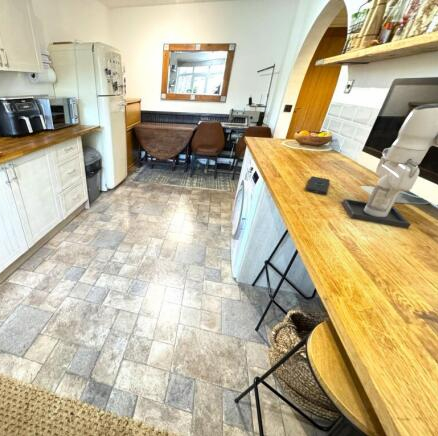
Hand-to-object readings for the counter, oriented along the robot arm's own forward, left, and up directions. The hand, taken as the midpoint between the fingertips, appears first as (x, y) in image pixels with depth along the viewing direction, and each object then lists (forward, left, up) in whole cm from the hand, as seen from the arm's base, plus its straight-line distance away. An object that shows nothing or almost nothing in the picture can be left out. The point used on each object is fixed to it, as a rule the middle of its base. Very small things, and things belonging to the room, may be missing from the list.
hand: (383, 193), depth 88 cm
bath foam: (-1, 0, -9) cm, 9 cm away
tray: (0, 0, -9) cm, 9 cm away
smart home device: (+15, -24, -9) cm, 30 cm away
